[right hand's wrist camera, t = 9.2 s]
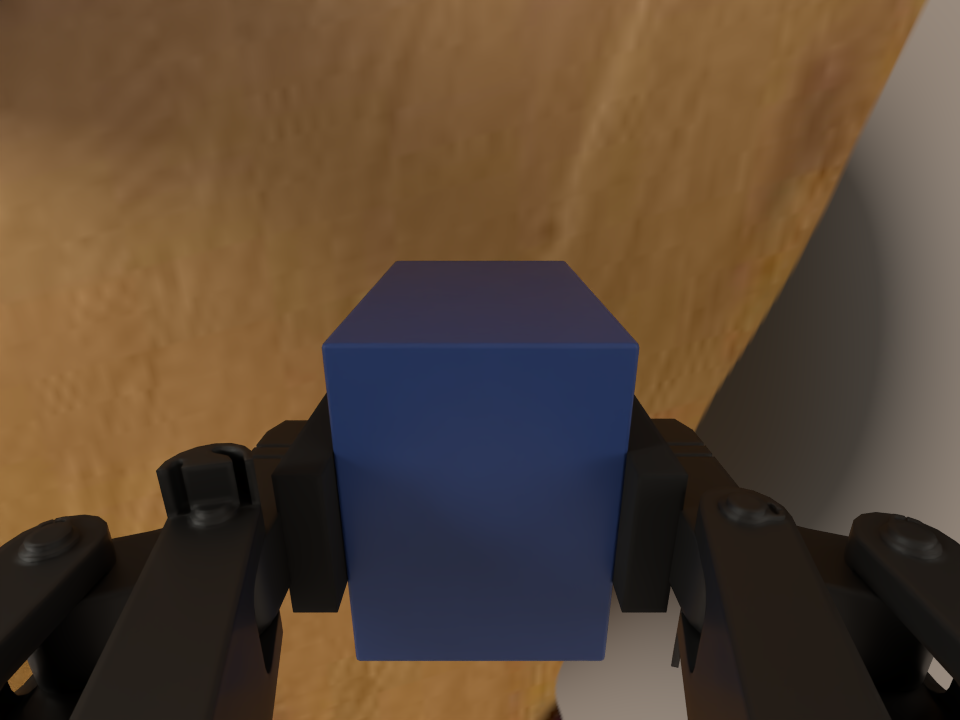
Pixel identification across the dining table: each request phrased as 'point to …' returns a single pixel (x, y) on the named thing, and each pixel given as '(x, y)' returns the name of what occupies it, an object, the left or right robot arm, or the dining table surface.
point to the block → (480, 461)
